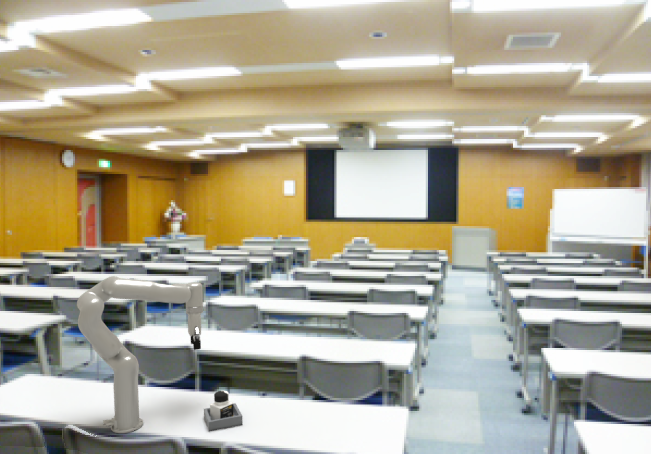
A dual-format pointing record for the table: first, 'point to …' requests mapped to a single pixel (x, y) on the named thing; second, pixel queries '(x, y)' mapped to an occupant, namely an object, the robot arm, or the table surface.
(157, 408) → the table surface
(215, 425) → the box
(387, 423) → the table surface
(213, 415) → the medicine bottle
